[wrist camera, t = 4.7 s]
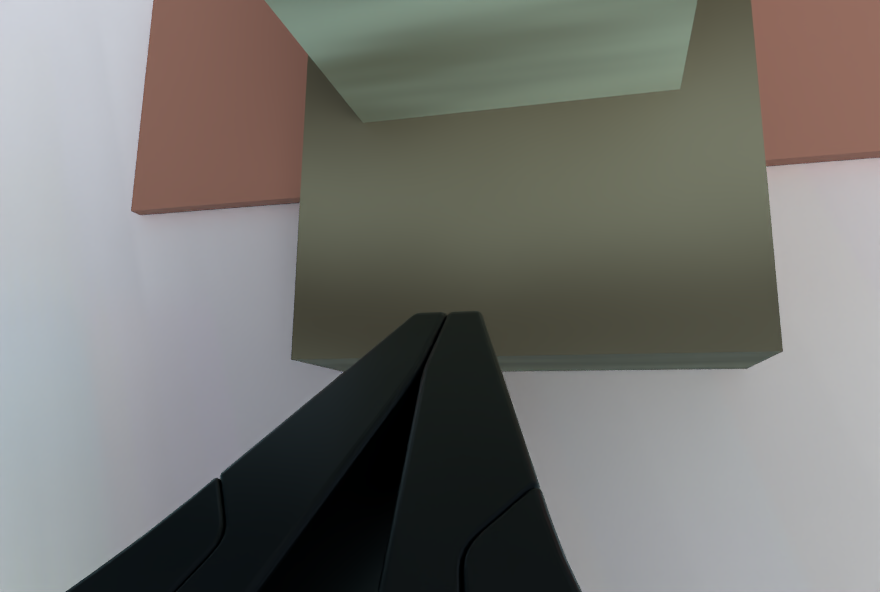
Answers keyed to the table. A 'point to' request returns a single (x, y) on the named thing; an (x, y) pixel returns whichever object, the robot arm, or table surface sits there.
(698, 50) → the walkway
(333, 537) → the robot arm
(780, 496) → the table surface
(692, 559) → the table surface
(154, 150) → the reddish brown flat panel
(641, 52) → the pale green block
